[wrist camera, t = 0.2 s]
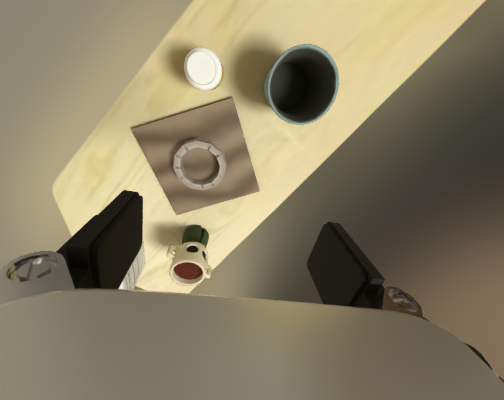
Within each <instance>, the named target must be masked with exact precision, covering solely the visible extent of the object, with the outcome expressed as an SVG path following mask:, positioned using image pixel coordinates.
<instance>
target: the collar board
mask: <svg viewBox="0 0 504 400" xmlns="http://www.w3.org/2000/svg"><path fill="white" fill-rule="evenodd" d="M132 131H133V133H134V135H135V137H136V139H137V141H138V143H139V145H140V146H141V148H142V150H143V152H144V154H145V156H146V158H147V160H148V162H149V163H150V165H151V167H152V169H153V171H154V173H155V175H156V177H157V179H158V180H159V182H160V184H161V186H162V188H163V190H164V192H165V194H166V196H167V197H168V199H169V201H170V203H171V205H172V207H173V209H174V211H175V213H176V215H179V214H182V213H186V212H189V211H192V210H196V209H199V208H203V207H206V206H210V205H213V204H217V203H220V202H224V201H227V200H231V199H234V198H238V197H241V196H245V195H248V194H252V193H255V192H258V191H259V187H258V184H257V180H256V177H255V173H254V170H253V166H252V163H251V159H250V156H249V153H248V149H247V146H246V142H245V139H244V135H243V132H242V128H241V125H240V121H239V118H238V114H237V111H236V107H235V104H234V100H233V97H232V98H229V99H226V100H223V101H220V102H216V103H213V104H210V105H207V106H203V107H200V108H197V109H194V110H191V111H187V112H184V113H181V114H178V115H175V116H171V117H168V118H165V119H162V120H159V121H155V122H152V123H149V124H146V125H142V126H139V127H136V128H133V129H132Z"/></svg>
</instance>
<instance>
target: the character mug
mask: <svg viewBox="0 0 504 400" xmlns="http://www.w3.org/2000/svg"><path fill="white" fill-rule="evenodd" d="M208 239H209V234H208V232H207V230H205V232H203V231H202V227H201V226H191V227H189V228H188V229H186V230H185V232H184V234H183V238H182V245H181V246H179V247H176V246H174V245H170V246H169V248H168V251H167V257H169V258H171V259H173V261H172V264H171V267H170V277H171V278H172V280H173V281H174V282H176V283H177V284H180V285H183V286H192V285H197V284H198V283H200V282H202V280H203V279H204V277H205V278H210V276H211V267H210V266H209V265H207V263H208V252H207V250H206V245H207V243H208ZM172 251H175V255H174V254H172ZM206 269H207V272H206Z"/></svg>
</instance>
